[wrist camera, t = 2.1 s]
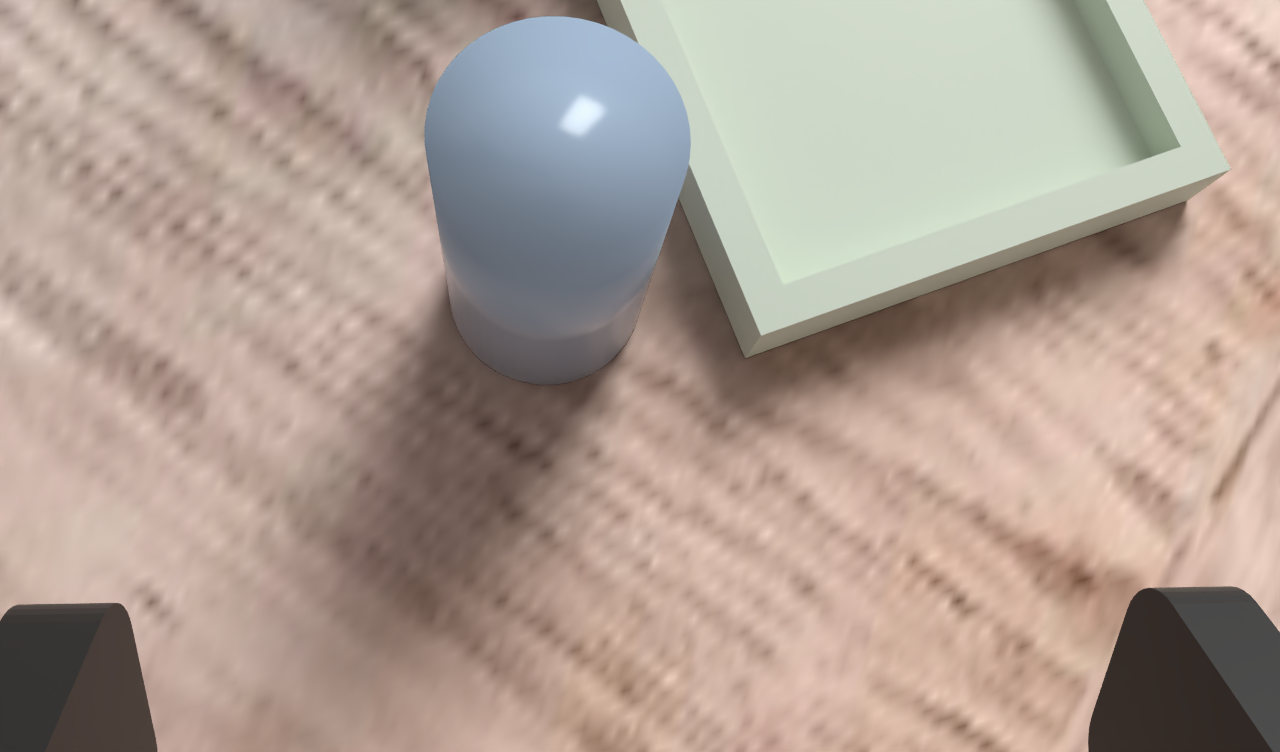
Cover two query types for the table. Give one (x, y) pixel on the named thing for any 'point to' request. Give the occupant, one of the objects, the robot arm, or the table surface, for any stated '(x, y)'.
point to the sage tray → (911, 141)
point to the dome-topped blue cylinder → (553, 191)
